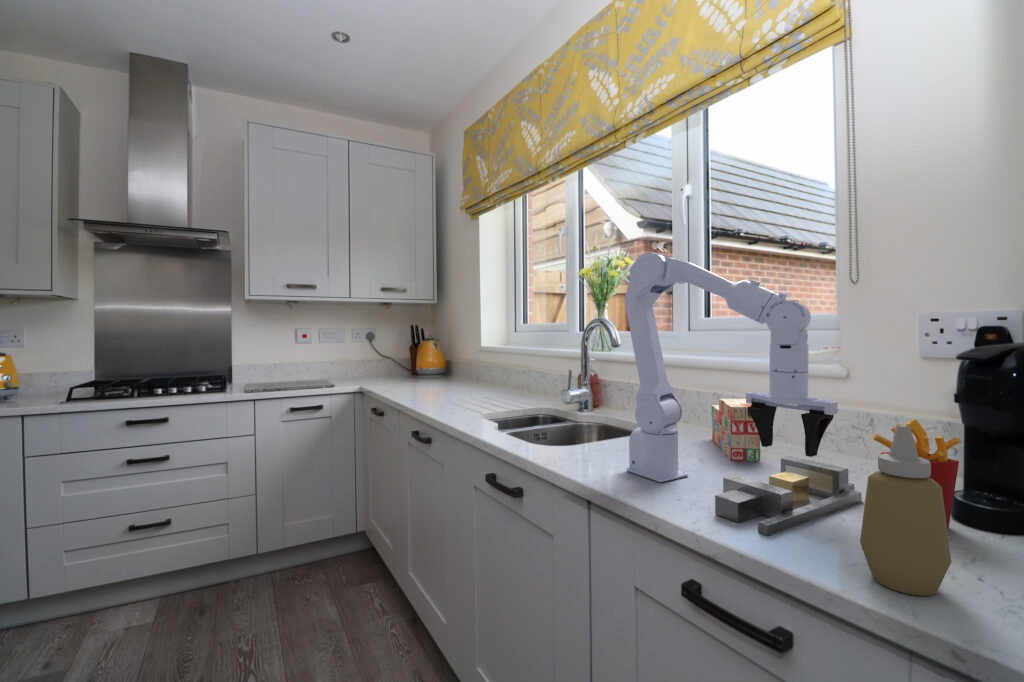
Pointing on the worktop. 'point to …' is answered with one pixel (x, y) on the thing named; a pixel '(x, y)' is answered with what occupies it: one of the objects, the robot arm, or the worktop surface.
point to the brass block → (792, 485)
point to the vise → (821, 483)
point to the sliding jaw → (751, 499)
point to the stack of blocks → (735, 430)
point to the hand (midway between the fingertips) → (788, 450)
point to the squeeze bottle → (905, 521)
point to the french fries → (933, 461)
